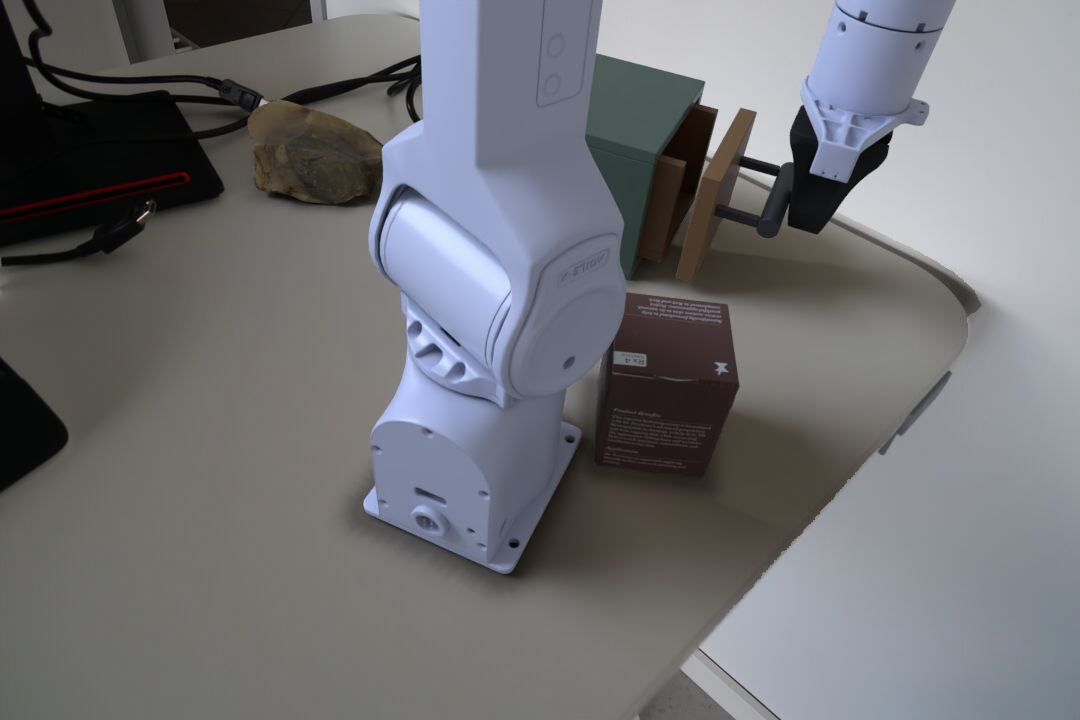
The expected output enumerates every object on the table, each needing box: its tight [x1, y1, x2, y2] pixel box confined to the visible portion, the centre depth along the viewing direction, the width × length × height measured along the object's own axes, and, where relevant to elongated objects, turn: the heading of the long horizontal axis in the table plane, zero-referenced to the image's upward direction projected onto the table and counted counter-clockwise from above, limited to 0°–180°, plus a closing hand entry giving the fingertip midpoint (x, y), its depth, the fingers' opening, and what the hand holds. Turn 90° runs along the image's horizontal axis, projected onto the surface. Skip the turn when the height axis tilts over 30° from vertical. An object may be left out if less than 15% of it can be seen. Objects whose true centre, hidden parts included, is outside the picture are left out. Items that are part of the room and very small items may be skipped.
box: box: [593, 291, 741, 478], centre depth 38 cm, size 6×6×7 cm
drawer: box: [637, 103, 794, 284], centre depth 51 cm, size 17×10×8 cm, turn 66°
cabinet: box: [585, 52, 706, 280], centre depth 52 cm, size 14×12×10 cm
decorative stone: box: [246, 98, 385, 205], centre depth 55 cm, size 10×9×4 cm
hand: (804, 225), depth 49 cm, fingers closed, pressing on drawer
